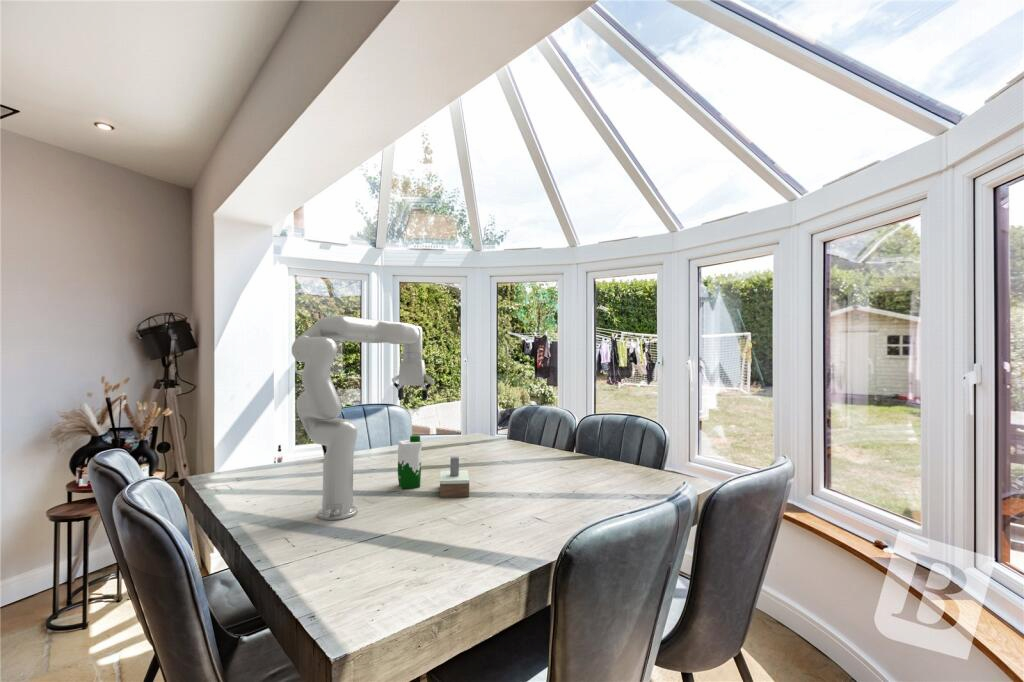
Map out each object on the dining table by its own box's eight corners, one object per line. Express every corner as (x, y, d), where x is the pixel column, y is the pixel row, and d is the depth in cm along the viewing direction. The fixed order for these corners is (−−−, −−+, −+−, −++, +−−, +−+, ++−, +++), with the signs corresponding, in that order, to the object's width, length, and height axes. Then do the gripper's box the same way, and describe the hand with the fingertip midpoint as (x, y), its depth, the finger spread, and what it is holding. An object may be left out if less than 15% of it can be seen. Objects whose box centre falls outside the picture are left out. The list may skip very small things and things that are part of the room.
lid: (469, 483, 177) (469, 461, 178) (439, 484, 176) (440, 462, 176) (467, 473, 192) (467, 453, 192) (440, 473, 191) (440, 453, 191)
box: (469, 496, 177) (469, 483, 177) (439, 497, 176) (439, 484, 176) (467, 485, 192) (467, 473, 192) (440, 486, 191) (440, 473, 191)
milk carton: (422, 487, 188) (423, 437, 189) (400, 490, 185) (400, 439, 185) (417, 482, 196) (418, 434, 197) (395, 484, 192) (396, 435, 193)
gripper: (388, 356, 185) (388, 400, 185) (430, 357, 182) (430, 401, 182) (396, 356, 192) (396, 398, 192) (436, 356, 189) (436, 399, 189)
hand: (412, 399), depth 187 cm, fingers open, 9 cm apart
